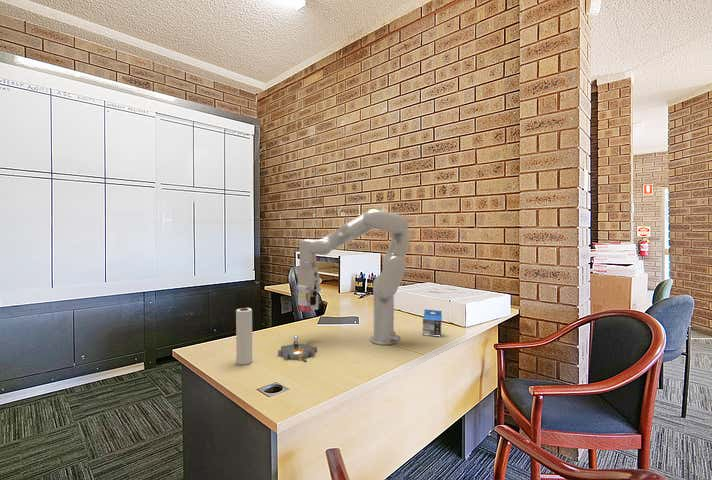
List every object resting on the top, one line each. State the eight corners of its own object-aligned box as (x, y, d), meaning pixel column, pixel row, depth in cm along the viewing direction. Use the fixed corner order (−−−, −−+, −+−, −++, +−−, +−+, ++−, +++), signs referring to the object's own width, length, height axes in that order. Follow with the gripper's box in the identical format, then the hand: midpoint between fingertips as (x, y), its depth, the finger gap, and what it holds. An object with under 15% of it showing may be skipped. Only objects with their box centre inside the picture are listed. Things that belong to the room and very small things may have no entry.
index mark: (302, 360, 145) (302, 359, 145) (305, 359, 145) (305, 359, 145) (304, 362, 143) (304, 361, 143) (307, 361, 143) (307, 361, 143)
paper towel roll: (243, 366, 138) (243, 311, 137) (233, 363, 141) (232, 309, 141) (257, 360, 144) (257, 308, 144) (247, 357, 147) (247, 306, 147)
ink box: (304, 312, 163) (303, 286, 162) (297, 310, 166) (297, 285, 166) (318, 309, 169) (318, 284, 168) (312, 307, 172) (311, 283, 172)
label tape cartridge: (422, 335, 179) (422, 310, 178) (423, 333, 182) (424, 309, 182) (440, 337, 175) (440, 312, 175) (441, 335, 179) (441, 310, 179)
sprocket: (312, 345, 163) (312, 332, 163) (320, 358, 147) (320, 343, 147) (276, 349, 158) (276, 335, 158) (280, 362, 142) (279, 347, 142)
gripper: (327, 265, 165) (327, 304, 165) (300, 263, 175) (300, 300, 175) (316, 267, 159) (316, 307, 159) (289, 265, 169) (289, 303, 169)
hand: (308, 303), depth 167 cm, fingers closed on ink box, 5 cm apart
